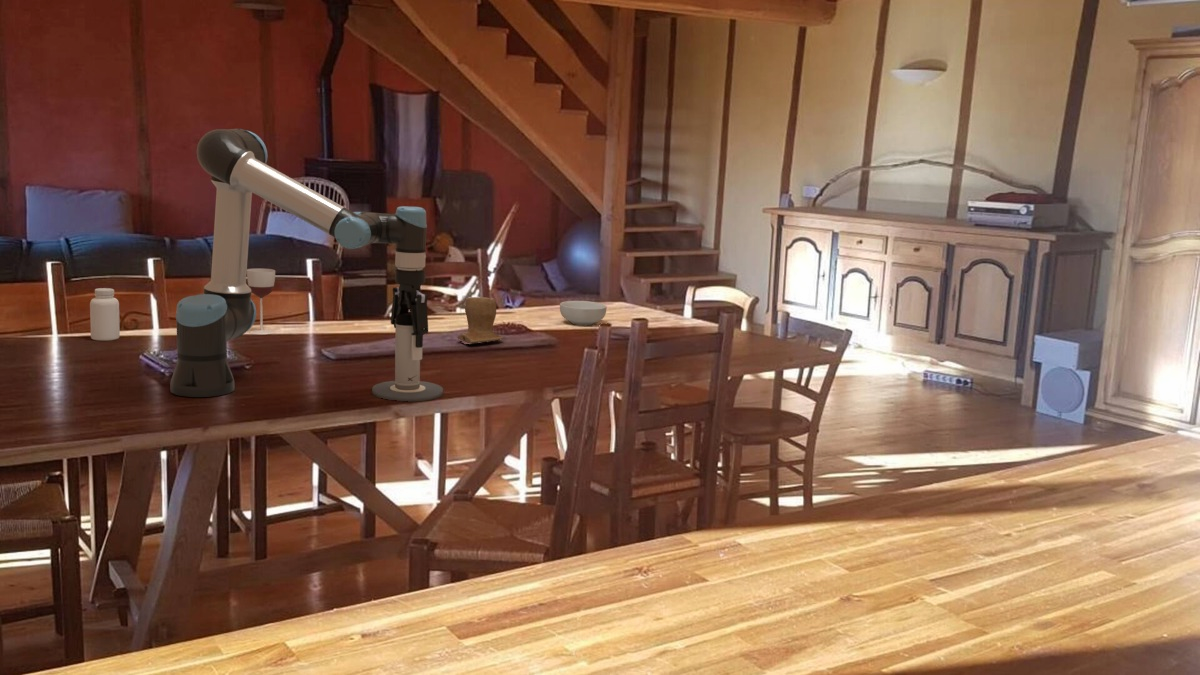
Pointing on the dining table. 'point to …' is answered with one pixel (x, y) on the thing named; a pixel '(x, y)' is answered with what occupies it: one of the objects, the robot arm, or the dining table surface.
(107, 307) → the pill bottle
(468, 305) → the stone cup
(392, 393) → the grey flat disc
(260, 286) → the wineglass
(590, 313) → the cereal bowl
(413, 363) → the travel mug
